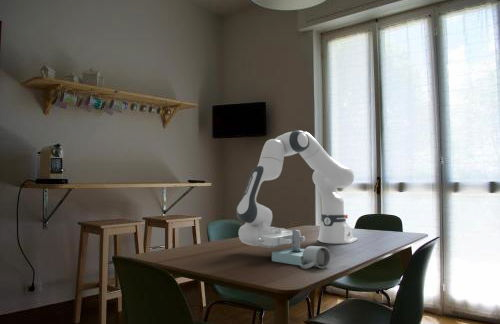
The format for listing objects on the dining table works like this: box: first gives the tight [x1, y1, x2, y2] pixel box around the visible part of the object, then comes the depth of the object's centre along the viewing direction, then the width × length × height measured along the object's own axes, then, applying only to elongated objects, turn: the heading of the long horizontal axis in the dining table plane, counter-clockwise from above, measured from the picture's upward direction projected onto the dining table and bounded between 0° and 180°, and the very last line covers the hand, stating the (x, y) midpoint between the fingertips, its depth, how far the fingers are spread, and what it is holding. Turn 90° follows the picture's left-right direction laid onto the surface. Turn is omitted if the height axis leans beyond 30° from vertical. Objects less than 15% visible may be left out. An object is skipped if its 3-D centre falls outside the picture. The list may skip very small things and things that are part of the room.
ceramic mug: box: [299, 245, 331, 270], centre depth 143 cm, size 11×8×8 cm
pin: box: [291, 229, 301, 253], centre depth 155 cm, size 3×3×12 cm
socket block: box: [271, 247, 306, 267], centre depth 154 cm, size 14×14×4 cm
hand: (297, 240), depth 154 cm, fingers open, 8 cm apart
